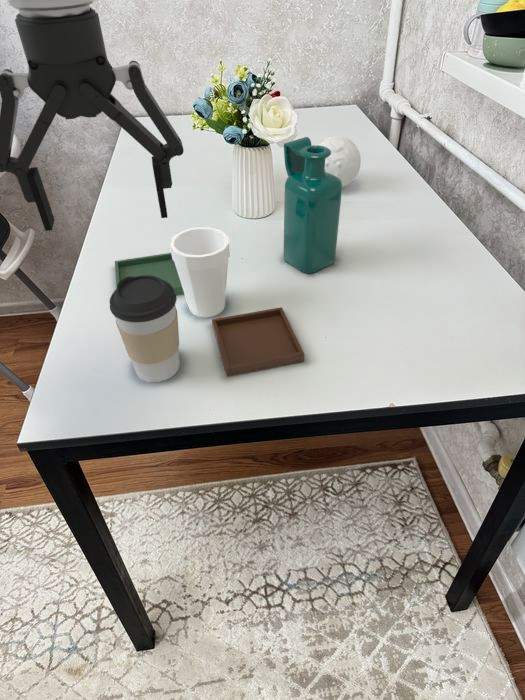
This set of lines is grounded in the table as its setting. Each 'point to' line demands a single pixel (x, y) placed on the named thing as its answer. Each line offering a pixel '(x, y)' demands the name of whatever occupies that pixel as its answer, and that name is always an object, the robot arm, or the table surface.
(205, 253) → the foam cup
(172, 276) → the sage tray
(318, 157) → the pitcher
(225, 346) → the walnut tray
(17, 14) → the robot arm
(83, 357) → the table surface
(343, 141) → the decorative ball
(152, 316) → the coffee cup
